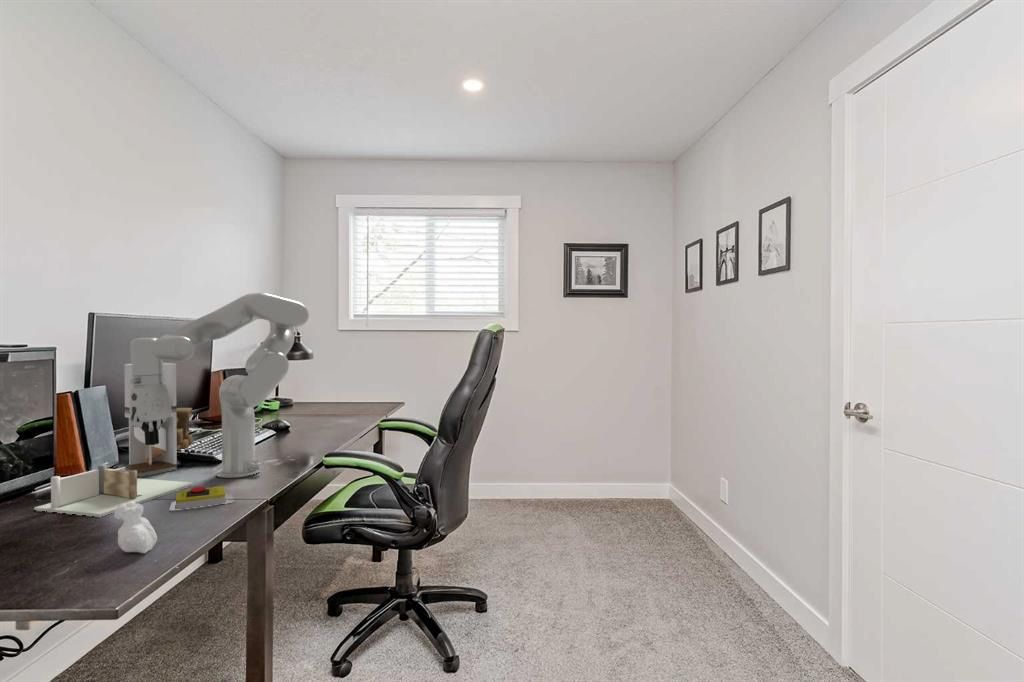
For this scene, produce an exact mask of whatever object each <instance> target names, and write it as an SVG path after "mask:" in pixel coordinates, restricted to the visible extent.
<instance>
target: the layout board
mask: <svg viewBox="0 0 1024 682" xmlns="http://www.w3.org/2000/svg"><path fill="white" fill-rule="evenodd" d="M191 485H194V486H195V482H191V481H190V482H189V481H178V480H177V481H176V480H164V479H163V480H162V479H151V478H141V477H139V478H138V477H137V497H136V498H128V497H122V496H116V495H110V494H99V495H96V496H93V497H90V498H86V499H83V500H80V501H76V502H73V503H70V504H66V505H63V506H60V507H58V508H51V502H49V503H46V504H42V505H39V506H35V507H33V510H36V511H35V512H42V511H45V513H52V512H57V513H56V514H62V513H66V514H65V515H72V514H76V515H75V516H82V515H86V516H85V517H92V516H94V518H103V517H106V516H108V514H109V515H111V513H112V514H114V512H115V510H116V509H117V507H118V506H119V505H120V504H124V503H127V502H130V501H132V502H133V501H135V503H136V504H140V503H141V504H144V503H147V502H150V501H153V500H155V499H154V498H156V499H158V498H157V497H159V498H160V496H162V497H164V496H163V495H165V496H167V495H169V493H170V494H173V493H176V492H178V491H177V490H179V491H181V490H180V489H182V490H184V489H183V488H185V489H187V488H186V487H188V488H190V487H189V486H191ZM191 487H192V486H191ZM175 491H176V492H175ZM172 492H173V493H172ZM166 494H167V495H166ZM152 499H153V500H152ZM149 500H150V501H149ZM146 501H147V502H146ZM143 502H144V503H143ZM141 504H140V505H141ZM46 511H47V512H46ZM105 515H106V516H105ZM102 516H103V517H102Z"/></svg>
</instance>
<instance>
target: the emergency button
mask: <svg viewBox="0 0 1024 682" xmlns="http://www.w3.org/2000/svg"><path fill="white" fill-rule="evenodd" d="M225 495H226V488H225V486H224V485H223V486H215V487H214V486H213V487H212V486H211V487H205V486H196V487H192V488H190V489H187V490H179V491H177V493H176V496H175V501H176V505H175V509H186V508H193V507H200V506H208V505H215V504H222V503H225V502H226V498H225Z"/></svg>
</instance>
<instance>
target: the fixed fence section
mask: <svg viewBox="0 0 1024 682" xmlns="http://www.w3.org/2000/svg"><path fill="white" fill-rule="evenodd" d="M107 465H108V464H98V465H97V469H94V470H93V469H92V470H89V471H88V470H87V471H84V472H80V473H78V474H77V473H76V474H73V475H68V476H65V477H61V476H60V475H59V476H58V475H56V476H51V477H50V503H51V508H58V507H60V506H63V505H66V504H70V503H73V502H76V501H80V500H83V499H86V498H90V497H93V496H96V495H99V494H104V469H108V468H107V467H108V466H107Z"/></svg>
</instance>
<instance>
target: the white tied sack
mask: <svg viewBox="0 0 1024 682" xmlns="http://www.w3.org/2000/svg"><path fill="white" fill-rule="evenodd" d="M143 512H144V505H142V504H136V503H135V501H133V502H132V501H130V502H127V503H124V504H120V505H119V506H118V507H117V509H116V510H115V513H113V514H114V515H113V516H114V519H116V520H123V524H122V525H121V526H120V527H119V528H118V531H117V537H118V538H117V544H118V546H119V547H120V549H121V550H122V552H124V553H139V554H147V553H148V552H149V551H152V550H153V548H154V546H155V545H156V543H157V541H158V536H157V533H156V531H155V528H154V527H153V526H152V524H151V522H150V521H149V520H148V518H146V517H144V516H142V515H143V514H144V513H143Z"/></svg>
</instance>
